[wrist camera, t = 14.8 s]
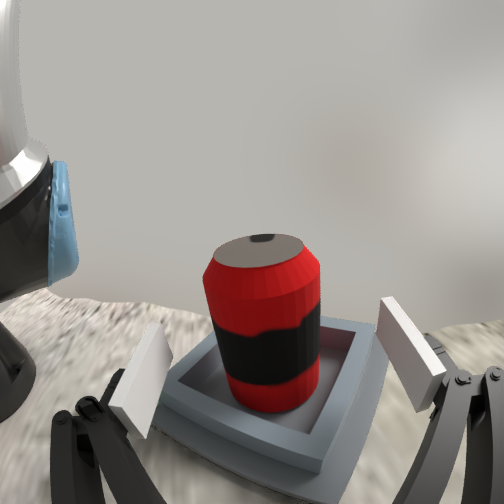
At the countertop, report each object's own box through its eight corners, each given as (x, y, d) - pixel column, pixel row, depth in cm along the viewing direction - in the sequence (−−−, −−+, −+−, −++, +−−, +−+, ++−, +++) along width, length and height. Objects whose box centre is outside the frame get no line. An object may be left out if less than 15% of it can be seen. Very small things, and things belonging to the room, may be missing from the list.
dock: (137, 413, 20) (121, 388, 18) (244, 314, 34) (239, 289, 32) (334, 509, 10) (342, 496, 9) (392, 342, 24) (397, 314, 23)
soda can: (315, 349, 24) (313, 226, 20) (321, 413, 17) (327, 270, 13) (237, 352, 26) (214, 234, 21) (222, 413, 19) (181, 279, 14)
